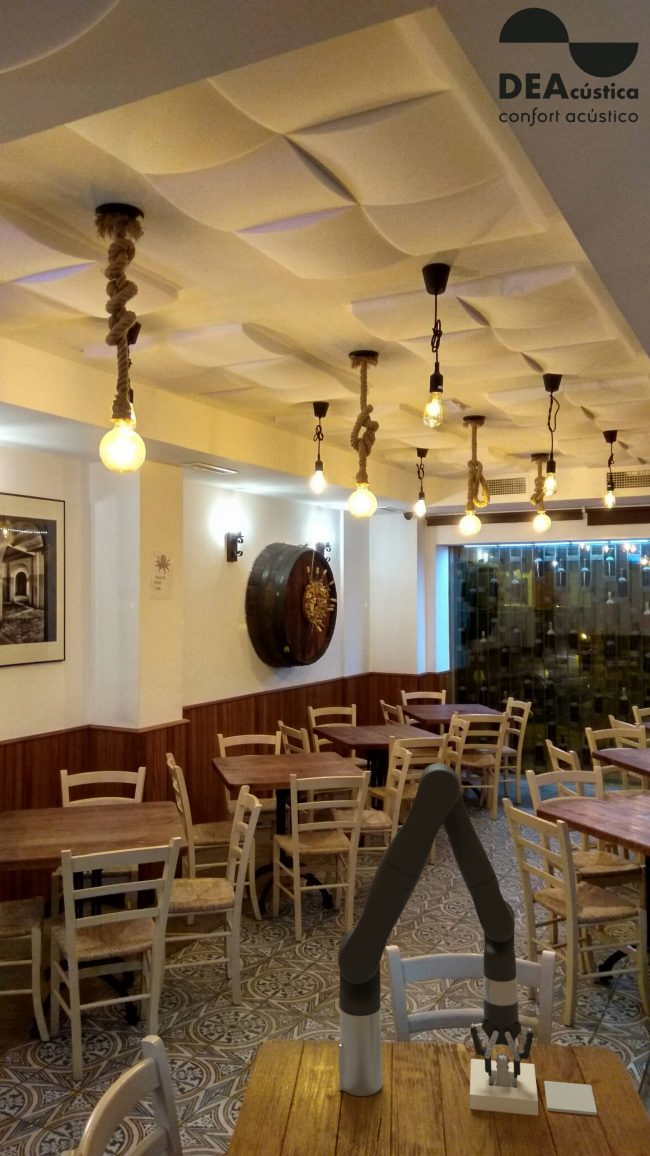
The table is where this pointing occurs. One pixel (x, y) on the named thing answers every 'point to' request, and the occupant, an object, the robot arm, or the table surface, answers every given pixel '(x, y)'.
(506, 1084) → the rook chess piece
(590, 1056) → the table surface
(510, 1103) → the pocket holder
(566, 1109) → the grey mat
